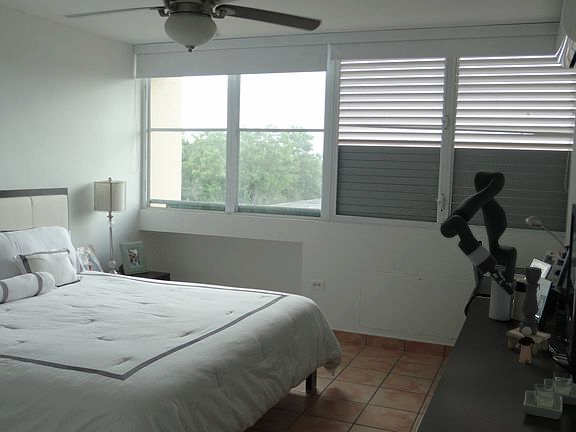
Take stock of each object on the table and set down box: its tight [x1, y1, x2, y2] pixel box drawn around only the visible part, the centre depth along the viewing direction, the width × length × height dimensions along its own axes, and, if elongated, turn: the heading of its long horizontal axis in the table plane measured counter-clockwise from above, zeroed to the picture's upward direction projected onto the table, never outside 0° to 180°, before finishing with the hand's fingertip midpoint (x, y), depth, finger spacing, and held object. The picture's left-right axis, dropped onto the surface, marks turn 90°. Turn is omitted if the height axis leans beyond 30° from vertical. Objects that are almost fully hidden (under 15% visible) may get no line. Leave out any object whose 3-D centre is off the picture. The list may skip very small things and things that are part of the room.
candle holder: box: [518, 266, 542, 335], centre depth 230 cm, size 6×6×25 cm
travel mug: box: [511, 278, 527, 322], centre depth 275 cm, size 8×8×18 cm
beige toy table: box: [505, 327, 552, 356], centre depth 231 cm, size 12×12×6 cm
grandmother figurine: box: [515, 327, 536, 364], centre depth 214 cm, size 8×4×13 cm, turn 111°
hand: (510, 291), depth 231 cm, fingers open, 8 cm apart
